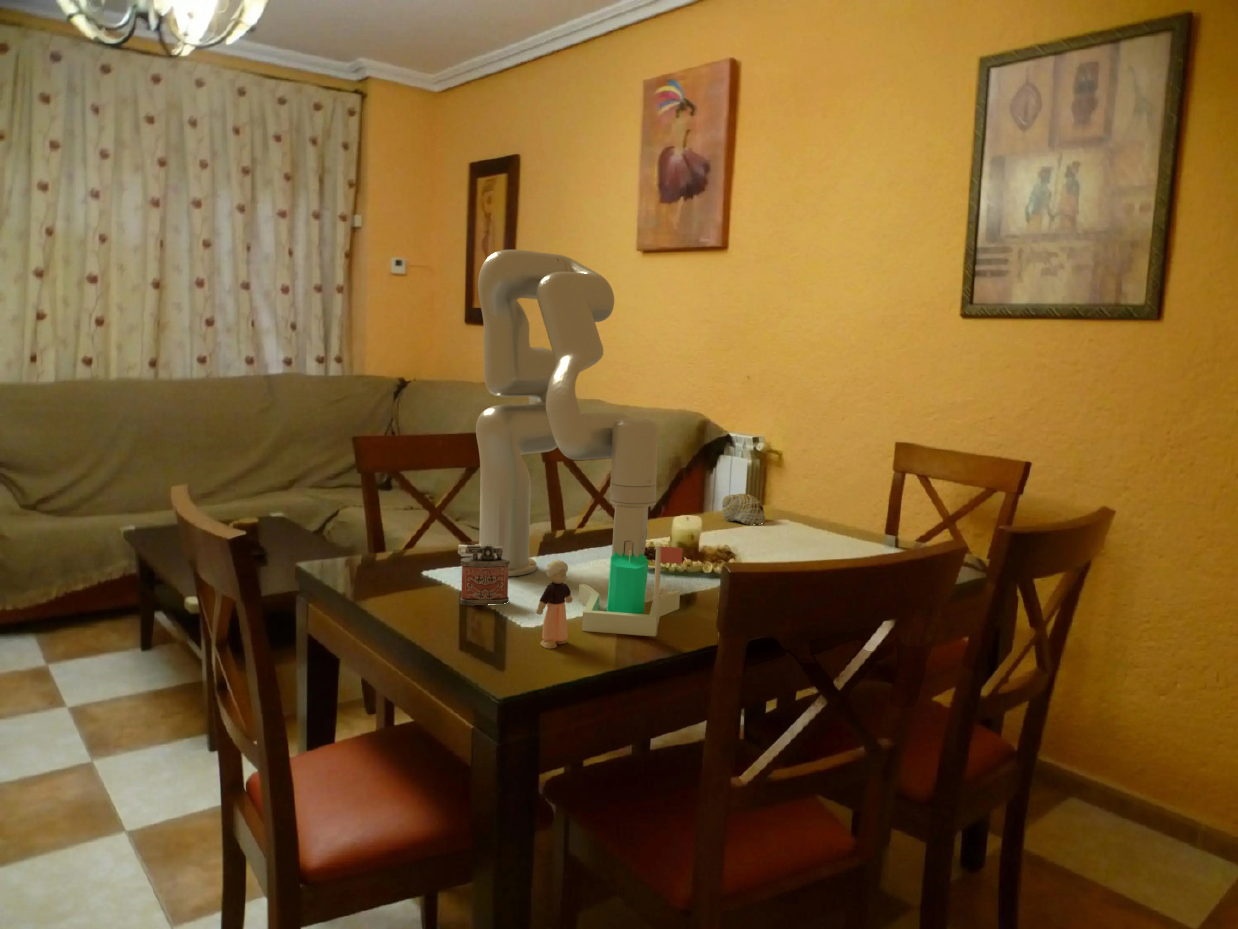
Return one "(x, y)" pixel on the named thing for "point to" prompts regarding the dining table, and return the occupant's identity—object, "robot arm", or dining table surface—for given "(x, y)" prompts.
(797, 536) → the dining table surface
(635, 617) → the white tray with post
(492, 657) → the dining table surface
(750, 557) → the dining table surface
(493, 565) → the lighter
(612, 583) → the candle
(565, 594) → the grandmother figurine
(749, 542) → the dining table surface
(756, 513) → the seashell
